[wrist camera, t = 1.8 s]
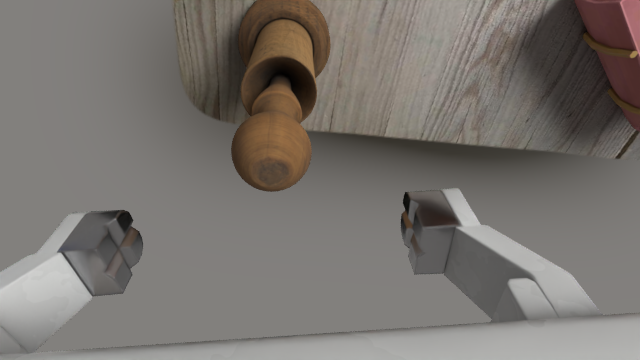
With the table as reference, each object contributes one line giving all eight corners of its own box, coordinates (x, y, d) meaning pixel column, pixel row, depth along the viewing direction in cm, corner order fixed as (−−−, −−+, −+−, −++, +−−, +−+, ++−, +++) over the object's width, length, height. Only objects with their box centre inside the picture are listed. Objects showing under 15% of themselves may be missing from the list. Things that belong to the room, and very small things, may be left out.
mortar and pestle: (325, -15, 25) (362, 72, 10) (331, 75, 29) (365, 229, 14) (232, -4, 25) (140, 96, 10) (251, 83, 29) (203, 245, 14)
